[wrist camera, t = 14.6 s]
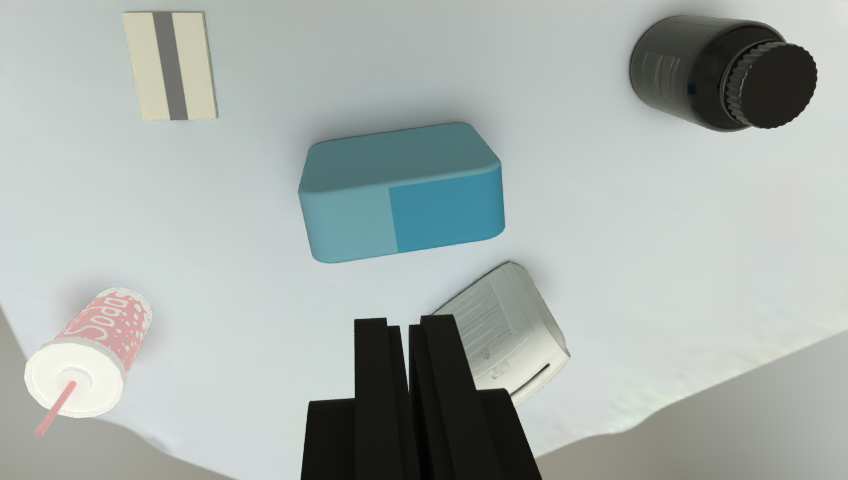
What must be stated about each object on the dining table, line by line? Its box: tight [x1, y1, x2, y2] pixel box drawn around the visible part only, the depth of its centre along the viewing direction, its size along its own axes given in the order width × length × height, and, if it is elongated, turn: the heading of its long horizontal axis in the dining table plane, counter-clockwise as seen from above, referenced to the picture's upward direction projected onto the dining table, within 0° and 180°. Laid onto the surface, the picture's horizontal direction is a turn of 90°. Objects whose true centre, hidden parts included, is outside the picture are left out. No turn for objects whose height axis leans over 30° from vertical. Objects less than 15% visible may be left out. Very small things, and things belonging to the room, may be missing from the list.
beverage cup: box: [24, 287, 153, 438], centre depth 41 cm, size 6×6×14 cm
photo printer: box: [433, 262, 571, 407], centre depth 45 cm, size 10×4×12 cm, turn 128°
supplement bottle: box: [631, 16, 817, 132], centre depth 39 cm, size 7×7×12 cm
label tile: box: [122, 12, 218, 121], centre depth 40 cm, size 7×5×1 cm
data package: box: [298, 123, 505, 263], centre depth 39 cm, size 12×4×12 cm, turn 97°
